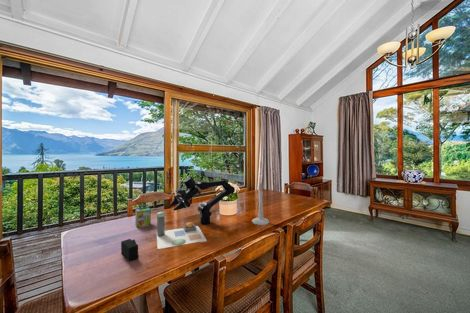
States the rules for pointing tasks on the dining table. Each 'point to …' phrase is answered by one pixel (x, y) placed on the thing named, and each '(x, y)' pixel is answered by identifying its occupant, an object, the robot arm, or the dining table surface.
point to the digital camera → (129, 250)
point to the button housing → (189, 228)
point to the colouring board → (179, 238)
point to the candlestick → (260, 211)
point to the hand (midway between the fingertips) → (171, 208)
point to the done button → (189, 225)
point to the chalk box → (143, 216)
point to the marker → (160, 224)
